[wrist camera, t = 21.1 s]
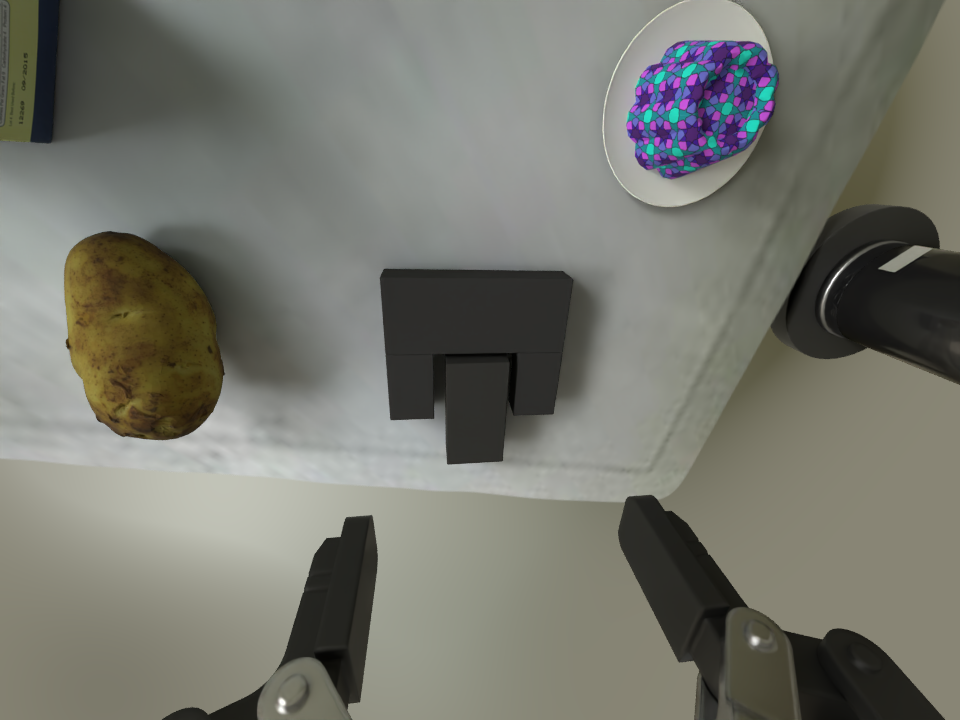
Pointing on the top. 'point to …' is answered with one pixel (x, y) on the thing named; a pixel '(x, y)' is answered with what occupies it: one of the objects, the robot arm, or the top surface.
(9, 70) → the protein box
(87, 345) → the potato
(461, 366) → the black rectangular block
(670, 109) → the pudding
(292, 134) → the top surface
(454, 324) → the base pad
